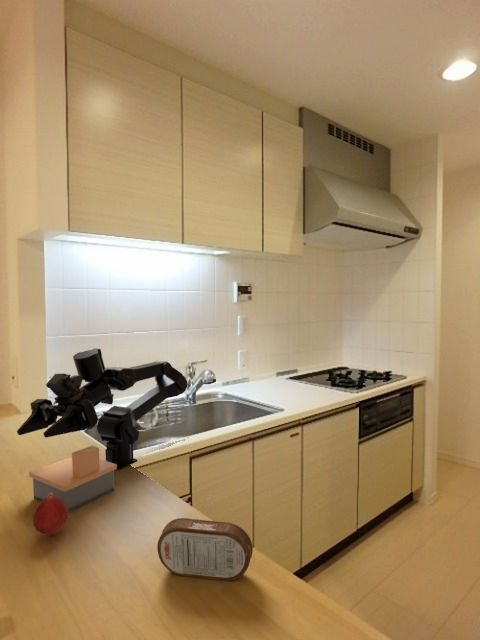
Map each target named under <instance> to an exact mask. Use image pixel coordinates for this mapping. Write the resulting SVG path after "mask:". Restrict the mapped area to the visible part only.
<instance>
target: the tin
mask: <svg viewBox="0 0 480 640" xmlns="http://www.w3.org/2000/svg"><path fill="white" fill-rule="evenodd" d="M163 527H164V528H163V529H162V532H161V534H160V536H159V539H158V541H157V546H156V547H157V549H156V550H157V554H158V557H159V560H160V562H161V564H162V565H163V567H164V568H166V569H167V570H168V571H169V572H171V573H173V574H175V575H177V576H182V577H192V578H198V579H199V578H200V579H208V580H209V579H210V580H215V581H216V580H218V581H224V582H226V581H228V582H230V581H234V580H237V579H239V578H241V577H242V576H244V575H245V573H246V571H247V570H248V569H249V566H250V564H251V559H252V556H253V552H254V549H253V543H252V539H251V538H250V536H249V534H248V533H247V531H245V529H243V528H242V527H241V526H239V525H237V524H236V523H232V522H228V521H218V520H207V519H198V518H188V517H179V518H175V519H172V520H170V521H168V523H167V524H166V525H165V526H163Z"/></svg>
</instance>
